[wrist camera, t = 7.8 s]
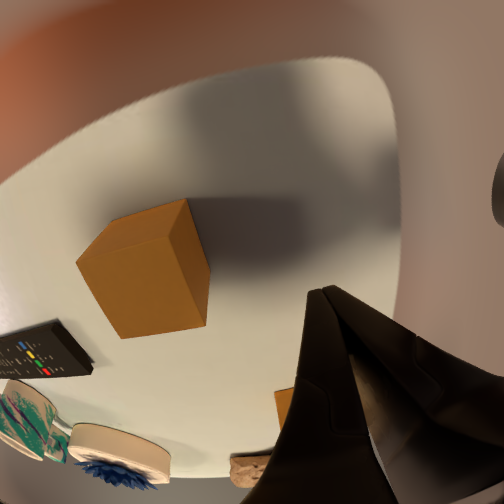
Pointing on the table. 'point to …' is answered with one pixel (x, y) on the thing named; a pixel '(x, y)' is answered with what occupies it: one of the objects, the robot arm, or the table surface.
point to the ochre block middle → (283, 404)
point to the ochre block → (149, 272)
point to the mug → (30, 423)
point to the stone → (247, 470)
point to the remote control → (42, 355)
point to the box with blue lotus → (119, 456)
